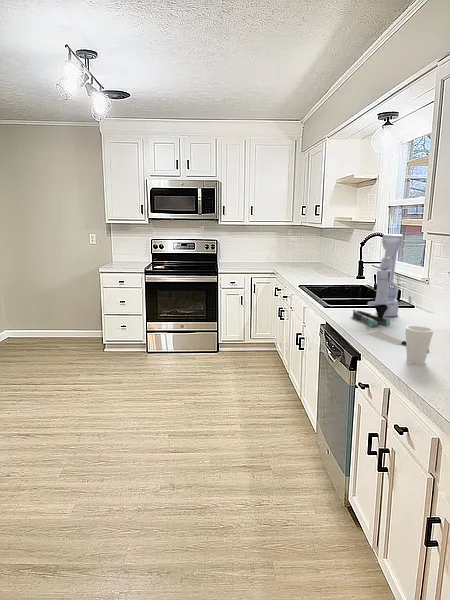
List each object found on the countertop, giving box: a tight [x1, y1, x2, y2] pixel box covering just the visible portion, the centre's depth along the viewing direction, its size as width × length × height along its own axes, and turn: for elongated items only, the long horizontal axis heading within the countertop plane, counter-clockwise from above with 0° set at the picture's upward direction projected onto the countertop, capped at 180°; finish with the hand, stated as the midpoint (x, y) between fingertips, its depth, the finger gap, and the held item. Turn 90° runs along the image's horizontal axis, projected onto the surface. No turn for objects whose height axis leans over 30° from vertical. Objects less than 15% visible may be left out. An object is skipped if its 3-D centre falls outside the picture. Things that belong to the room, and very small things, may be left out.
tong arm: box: [352, 309, 391, 326], centre depth 238 cm, size 22×4×3 cm, turn 28°
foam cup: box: [405, 325, 434, 365], centre depth 174 cm, size 10×9×13 cm
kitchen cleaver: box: [365, 330, 430, 353], centre depth 201 cm, size 31×2×10 cm
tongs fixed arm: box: [352, 312, 378, 328], centre depth 235 cm, size 19×3×3 cm, turn 15°
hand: (379, 319), depth 236 cm, fingers closed
